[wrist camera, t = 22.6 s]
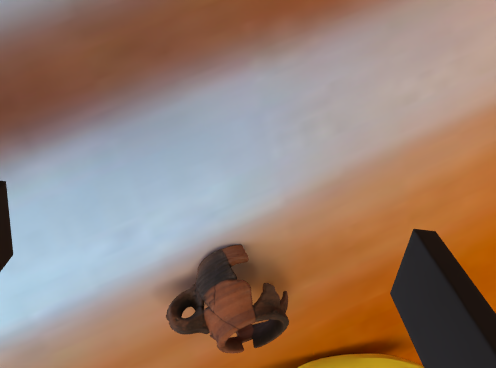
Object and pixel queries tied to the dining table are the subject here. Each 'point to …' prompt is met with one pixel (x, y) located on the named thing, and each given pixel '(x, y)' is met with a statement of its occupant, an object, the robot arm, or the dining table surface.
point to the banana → (361, 362)
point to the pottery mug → (229, 305)
